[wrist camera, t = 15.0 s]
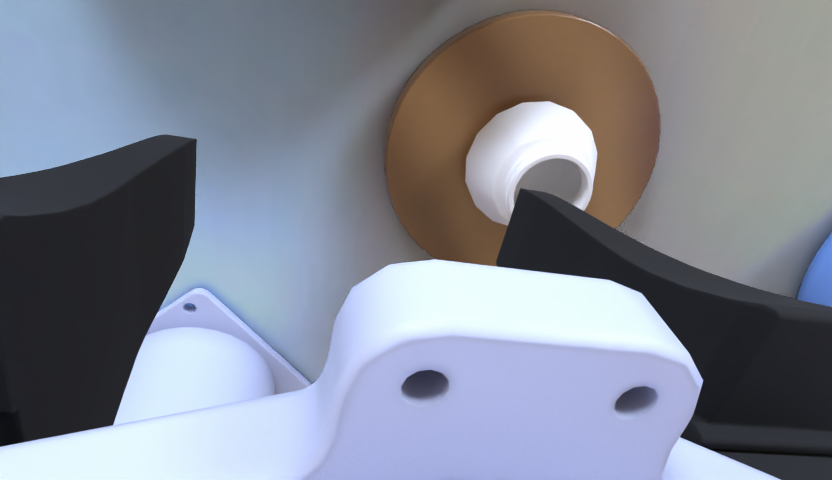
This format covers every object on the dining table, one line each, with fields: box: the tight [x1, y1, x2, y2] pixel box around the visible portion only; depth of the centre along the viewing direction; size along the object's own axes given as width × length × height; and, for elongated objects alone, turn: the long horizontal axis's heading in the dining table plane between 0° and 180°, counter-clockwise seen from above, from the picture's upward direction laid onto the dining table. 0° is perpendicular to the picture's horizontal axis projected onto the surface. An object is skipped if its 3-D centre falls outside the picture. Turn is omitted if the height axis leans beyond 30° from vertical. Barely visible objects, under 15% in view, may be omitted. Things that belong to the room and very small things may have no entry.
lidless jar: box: [465, 101, 597, 226], centre depth 21 cm, size 5×3×5 cm
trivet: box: [384, 10, 660, 267], centre depth 22 cm, size 11×11×1 cm
